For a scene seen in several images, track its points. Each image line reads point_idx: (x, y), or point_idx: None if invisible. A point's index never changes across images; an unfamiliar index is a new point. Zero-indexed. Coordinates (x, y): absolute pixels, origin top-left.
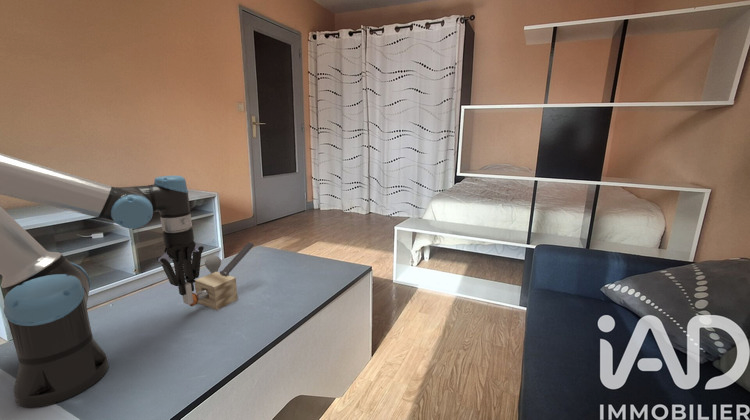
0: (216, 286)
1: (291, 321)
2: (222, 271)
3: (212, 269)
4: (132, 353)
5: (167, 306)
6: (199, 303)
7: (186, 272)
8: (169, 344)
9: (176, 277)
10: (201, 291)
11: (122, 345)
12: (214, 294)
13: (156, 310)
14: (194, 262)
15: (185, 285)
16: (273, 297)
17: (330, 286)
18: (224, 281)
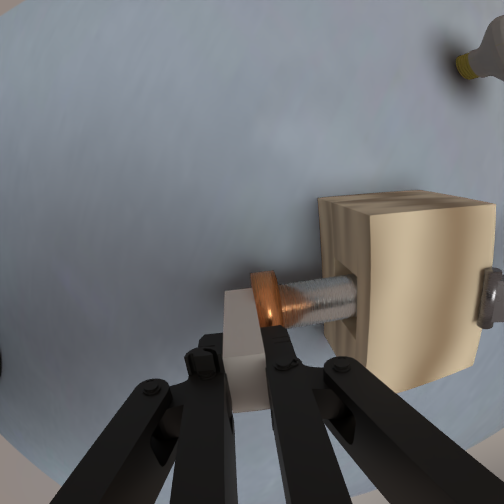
0: None
1: (368, 487)
2: (498, 288)
3: (495, 71)
4: (38, 355)
5: (211, 113)
6: (319, 218)
7: (278, 447)
8: (117, 399)
9: (163, 480)
10: (332, 309)
11: (19, 292)
12: None
13: (162, 112)
14: (397, 481)
15: (232, 404)
16: (455, 381)
17: None
18: (429, 374)
